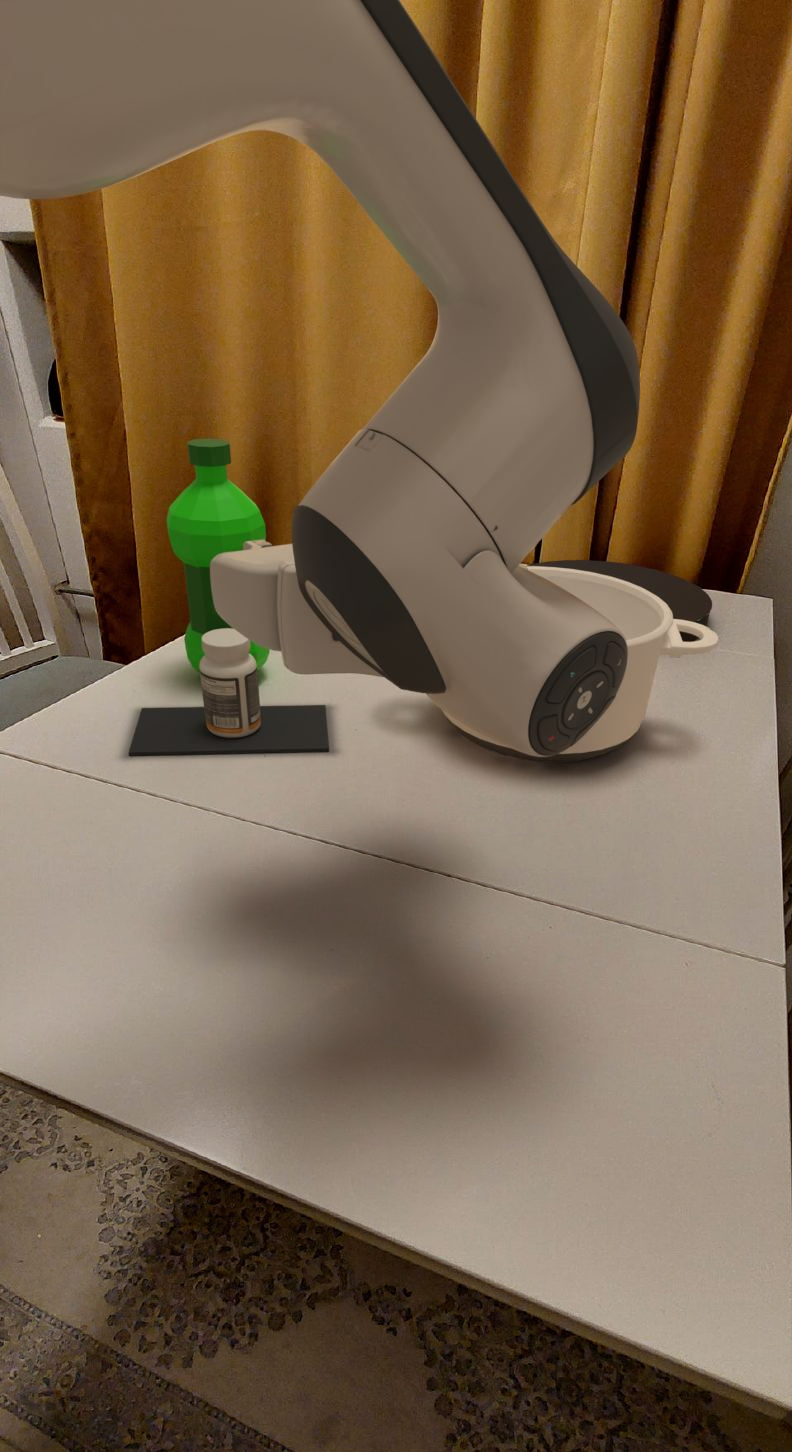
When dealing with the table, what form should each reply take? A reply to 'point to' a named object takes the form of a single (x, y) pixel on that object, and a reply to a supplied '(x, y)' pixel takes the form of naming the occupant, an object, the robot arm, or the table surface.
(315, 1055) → the table surface
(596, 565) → the disc
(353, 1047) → the table surface
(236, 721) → the pill bottle
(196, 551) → the plastic bottle
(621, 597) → the pot
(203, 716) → the slate mat
